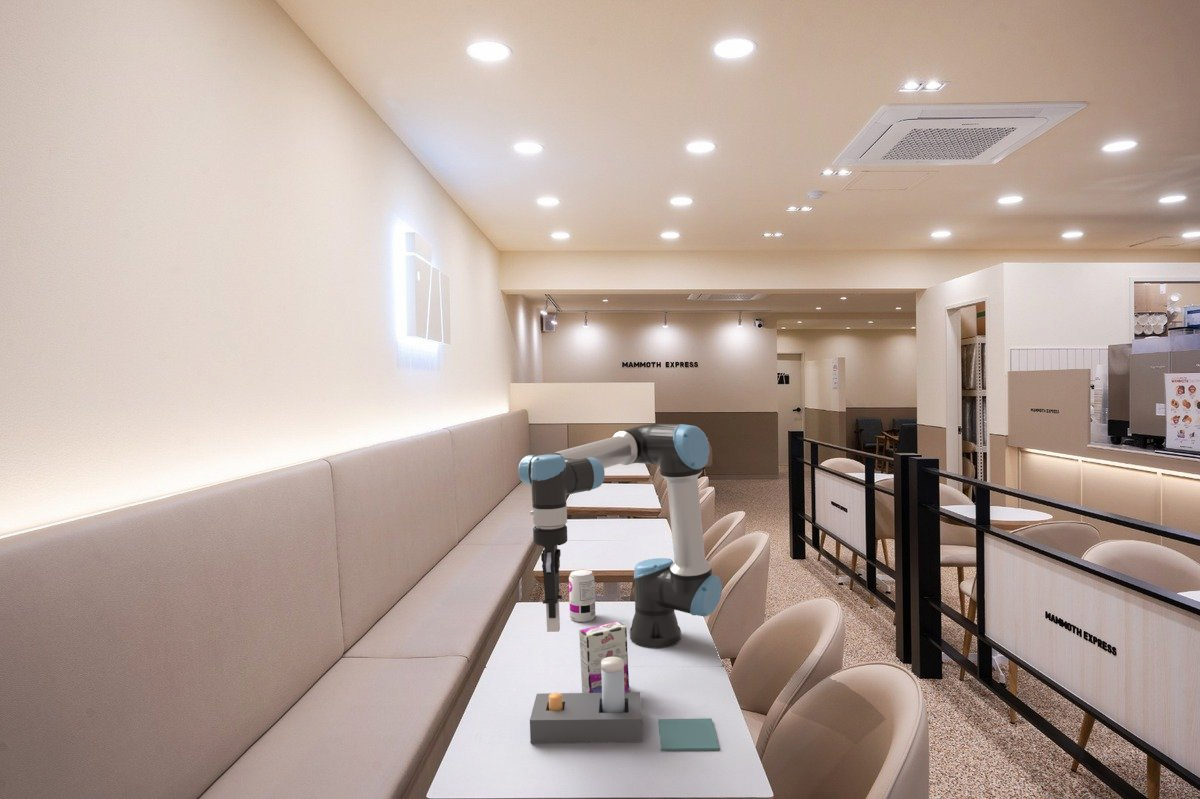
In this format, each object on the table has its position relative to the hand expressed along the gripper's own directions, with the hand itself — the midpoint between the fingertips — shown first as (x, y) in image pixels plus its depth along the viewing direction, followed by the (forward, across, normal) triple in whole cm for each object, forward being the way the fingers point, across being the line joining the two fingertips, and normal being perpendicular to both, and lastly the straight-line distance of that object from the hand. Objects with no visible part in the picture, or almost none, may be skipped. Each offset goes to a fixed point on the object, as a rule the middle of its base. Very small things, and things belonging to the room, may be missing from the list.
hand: (553, 630), depth 150 cm
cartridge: (+22, 0, +13) cm, 26 cm away
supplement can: (+23, -67, +2) cm, 71 cm away
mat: (+22, +4, +29) cm, 37 cm away
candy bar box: (+23, -16, +10) cm, 30 cm away
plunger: (+21, 0, 0) cm, 21 cm away
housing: (+22, 0, +7) cm, 23 cm away
